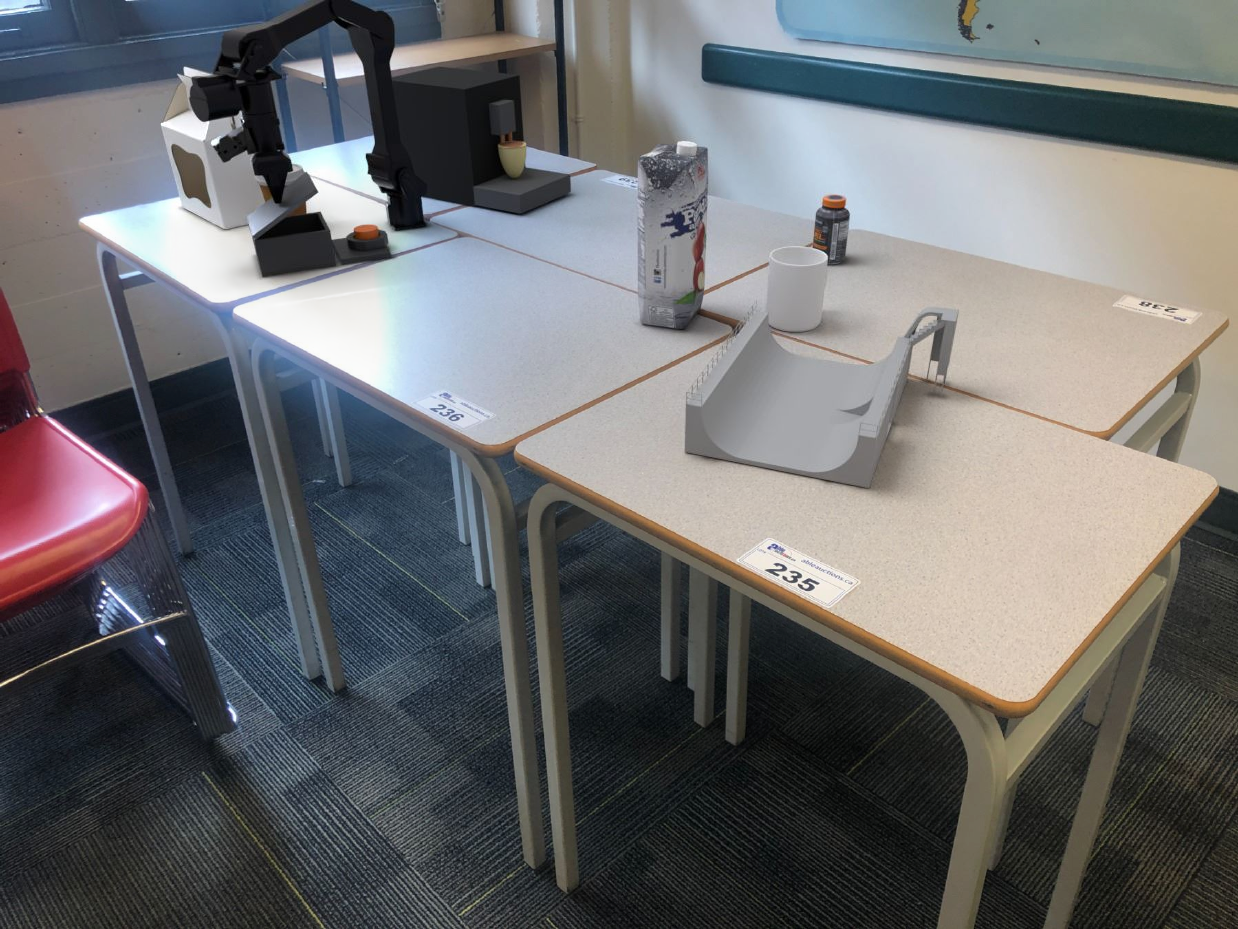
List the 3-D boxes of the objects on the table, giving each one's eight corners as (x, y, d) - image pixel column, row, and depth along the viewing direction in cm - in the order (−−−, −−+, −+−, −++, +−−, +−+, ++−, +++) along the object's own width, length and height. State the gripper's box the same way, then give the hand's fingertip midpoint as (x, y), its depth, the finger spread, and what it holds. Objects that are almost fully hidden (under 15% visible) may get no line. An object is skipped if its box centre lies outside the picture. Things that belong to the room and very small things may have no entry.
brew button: (376, 232, 180) (375, 223, 179) (381, 238, 177) (379, 229, 176) (353, 235, 179) (351, 226, 178) (357, 242, 175) (355, 233, 175)
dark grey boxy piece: (326, 246, 182) (320, 211, 178) (336, 266, 172) (330, 230, 169) (256, 255, 178) (248, 220, 174) (262, 277, 168) (254, 240, 165)
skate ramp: (752, 353, 139) (757, 283, 133) (945, 383, 129) (959, 309, 124) (684, 452, 115) (686, 372, 109) (914, 498, 106) (929, 413, 100)
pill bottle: (805, 256, 173) (811, 193, 167) (834, 252, 175) (841, 190, 169) (821, 266, 168) (827, 203, 162) (851, 262, 170) (858, 199, 164)
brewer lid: (309, 174, 175) (306, 171, 174) (318, 192, 165) (315, 188, 164) (249, 219, 174) (246, 216, 174) (255, 239, 165) (252, 236, 164)
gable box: (181, 207, 205) (145, 68, 190) (240, 194, 212) (209, 60, 198) (225, 230, 191) (189, 82, 176) (286, 215, 199) (257, 72, 184)
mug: (845, 316, 149) (853, 250, 144) (796, 338, 143) (803, 269, 137) (802, 301, 155) (808, 237, 149) (753, 321, 148) (757, 255, 143)
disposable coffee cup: (308, 237, 187) (296, 175, 180) (260, 237, 187) (246, 175, 181) (321, 222, 195) (311, 162, 188) (275, 222, 195) (263, 162, 189)
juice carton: (632, 326, 147) (631, 147, 133) (655, 301, 156) (656, 131, 142) (687, 334, 145) (692, 152, 130) (707, 308, 153) (714, 135, 139)
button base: (382, 238, 185) (380, 223, 184) (394, 257, 176) (392, 242, 174) (332, 245, 182) (329, 230, 181) (341, 265, 173) (339, 249, 171)
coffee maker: (520, 216, 196) (512, 95, 183) (397, 191, 212) (381, 79, 200) (571, 194, 209) (566, 79, 196) (450, 173, 225) (439, 66, 213)
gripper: (205, 105, 165) (226, 194, 174) (210, 127, 151) (233, 224, 159) (272, 99, 169) (289, 187, 177) (283, 120, 154) (302, 215, 163)
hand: (277, 202), depth 169 cm, fingers closed, pressing on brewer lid
